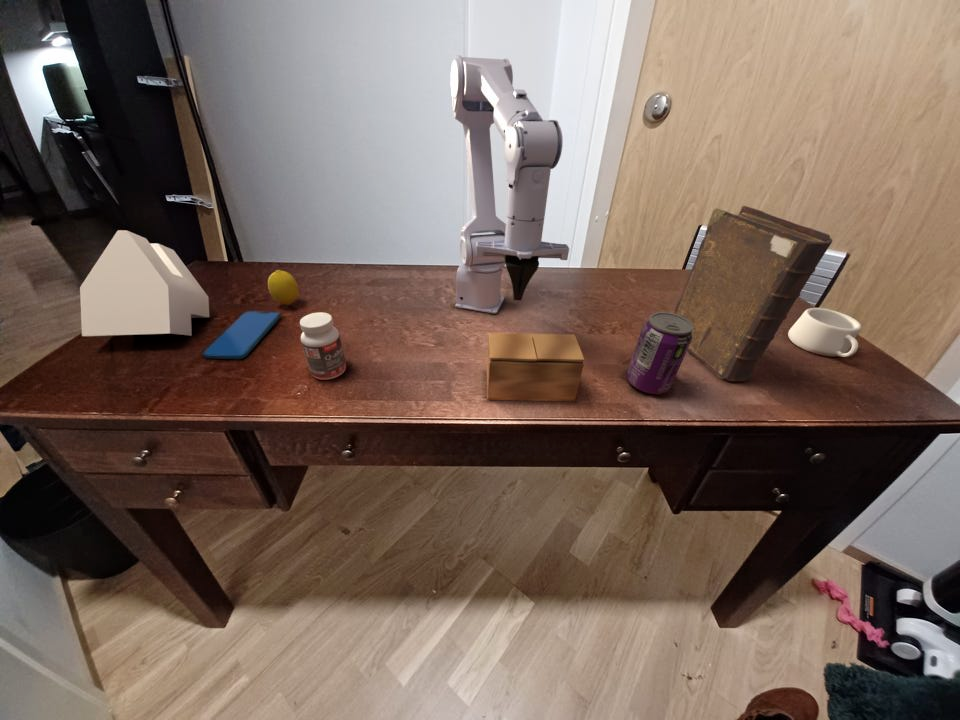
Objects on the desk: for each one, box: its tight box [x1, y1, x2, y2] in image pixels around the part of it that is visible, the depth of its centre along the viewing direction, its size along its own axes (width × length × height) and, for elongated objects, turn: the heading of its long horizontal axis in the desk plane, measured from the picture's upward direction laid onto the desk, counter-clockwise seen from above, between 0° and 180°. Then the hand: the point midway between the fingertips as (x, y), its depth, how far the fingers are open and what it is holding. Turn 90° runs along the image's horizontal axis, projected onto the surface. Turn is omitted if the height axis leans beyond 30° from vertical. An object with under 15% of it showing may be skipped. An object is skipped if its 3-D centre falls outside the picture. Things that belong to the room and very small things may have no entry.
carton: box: [486, 333, 585, 402], centre depth 58 cm, size 14×7×8 cm, turn 90°
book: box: [673, 205, 833, 382], centre depth 61 cm, size 17×7×25 cm, turn 9°
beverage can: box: [625, 311, 693, 395], centre depth 58 cm, size 7×7×12 cm
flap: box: [488, 332, 537, 361], centre depth 55 cm, size 7×7×1 cm
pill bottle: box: [299, 311, 347, 381], centre depth 59 cm, size 6×6×10 cm
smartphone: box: [202, 310, 282, 360], centre depth 69 cm, size 7×1×15 cm
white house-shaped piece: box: [79, 229, 210, 339], centre depth 68 cm, size 14×11×18 cm
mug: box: [787, 307, 862, 358], centre depth 71 cm, size 12×10×6 cm
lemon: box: [267, 269, 299, 306], centre depth 77 cm, size 6×6×8 cm
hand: (517, 297), depth 63 cm, fingers closed
